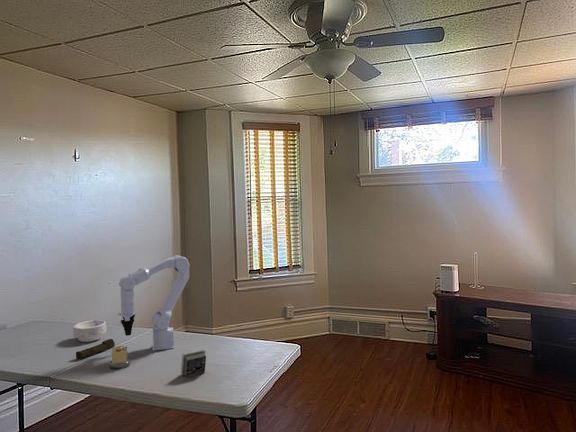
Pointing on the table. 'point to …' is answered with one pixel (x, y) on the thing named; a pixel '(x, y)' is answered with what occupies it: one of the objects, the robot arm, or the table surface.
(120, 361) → the socket
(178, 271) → the robot arm
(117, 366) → the ratchet
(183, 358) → the electrical switch
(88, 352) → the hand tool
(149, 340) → the table surface
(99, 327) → the white bowl
